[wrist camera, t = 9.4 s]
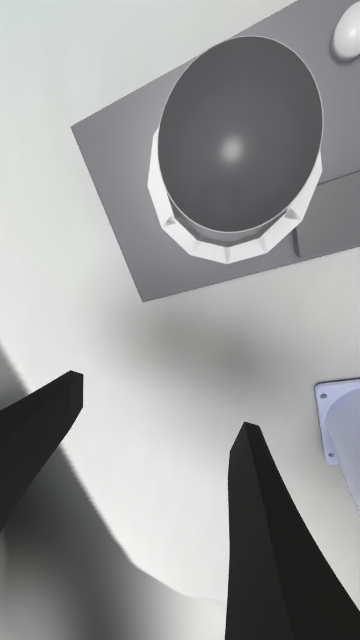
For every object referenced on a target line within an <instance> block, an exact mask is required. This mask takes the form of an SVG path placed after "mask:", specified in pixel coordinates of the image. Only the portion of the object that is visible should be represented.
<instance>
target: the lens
mask: <svg viewBox="0 0 360 640" xmlns="http://www.w3.org/2000/svg"><path fill="white" fill-rule="evenodd" d="M322 136H323V107H322V101H321V96H320V93H319V89H318V86H317V83H316V81H315V79H314V77H313V75H312V73H311V71H310V70H309V68H308V67H307V65H306V64H305V62H304V61H303V60H302V59H301V58H300V57H299V56H298V55H297V54H296V53H295V52H294V51H293V50H292V49H290V48H289V47H287V46H286V45H285V44H282V43H280V42H278V41H276V40H274V39H270V38H266V37H262V36H241V37H235V38H232V39H228V40H225V41H223V42H220V43H218V44H216V45H214V46H212V47H211V48H209V49H208V50H206V51H205V52H203V53H202V54H201V55H199V56H198V57H197V58H196V59H195V60H194V61H193V62H192V63H191V64H190V65H189V66H188V67H187V68H186V69H185V71H184V72H183V73H182V74H181V76H180V77H179V79H178V80H177V82H176V83H175V85H174V86H173V88H172V90H171V92H170V94H169V96H168V98H167V101H166V103H165V106H164V108H163V112H162V115H161V119H160V123H159V130H158V138H157V157H158V165H159V171H160V174H161V178H162V181H163V184H164V186H165V189H166V191H167V193H168V195H169V197H170V199H171V200H172V202H173V203H174V204H175V206H176V207H177V208H178V210H179V211H180V212H181V213H182V214H183V215H184V216H185V217H187V218H188V219H189V220H190V221H192V222H193V223H195V224H197V225H198V226H200V227H203V228H205V229H208V230H211V231H214V232H221V233H238V232H245V231H248V230H252V229H255V228H257V227H260V226H262V225H264V224H266V223H268V222H269V221H271V220H273V219H274V218H276V217H277V216H278V215H280V214H281V213H282V212H283V211H284V210H285V209H287V208H288V207H289V206H290V205H291V203H292V202H293V201H294V200H295V199H296V198H297V197H298V195H299V194H300V192H301V191H302V190H303V188H304V187H305V185H306V183H307V181H308V180H309V178H310V176H311V174H312V171H313V169H314V167H315V165H316V162H317V158H318V155H319V152H320V147H321V142H322Z"/></svg>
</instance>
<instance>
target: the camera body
mask: <svg viewBox="0 0 360 640" xmlns="http://www.w3.org/2000/svg"><path fill="white" fill-rule="evenodd" d="M241 36H262V37H266V38H270V39H274V40H276V41H278V42H280V43H282V44H285V45H286V46H287V47H289V48H290V49H292V50H293V51H294V52H295V53H296V54H297V55H298V56H299V57H300V58H301V59H302V60H303V61H304V62H305V64H306V65H307V67H308V68H309V70H310V71H311V73H312V75H313V77H314V79H315V81H316V83H317V86H318V89H319V93H320V96H321V101H322V107H323V136H322V142H321V147H320V152H319V155H318V158H317V162H316V165H315V167H314V169H313V171H312V174H311V176H310V178H309V180H308V181H307V183H306V185H305V187H304V188H303V190H302V191H301V192H300V194H299V195H298V197H297V198H296V199H295V200H294V201H293V202H292V203H291V205H290V206H289V207H288V208H287V209H285V210H284V211H283V212H282V213H281V214H280V215H278V216H277V217H276V218H274V219H273V220H271V221H269V222H268V223H266V224H264V225H262V226H260V227H257V228H255V229H252V230H248V231H245V232H238V233H221V232H214V231H211V230H208V229H205V228H203V227H200V226H198V225H197V224H195V223H193V222H192V221H190V220H189V219H188V218H187V217H185V216H184V215H183V214H182V213H181V212H180V211H179V210H178V208H177V207H176V206H175V204H174V203H173V202H172V200H171V199H170V197H169V195H168V193H167V191H166V189H165V186H164V184H163V181H162V178H161V174H160V171H159V165H158V157H157V138H158V130H159V123H160V119H161V115H162V112H163V108H164V106H165V103H166V101H167V98H168V96H169V94H170V92H171V90H172V88H173V86H174V85H175V83H176V82H177V80H178V79H179V77H180V76H181V74H182V73H183V72H184V71H185V69H186V68H187V67H188V66H189V65H190V64H191V63H192V62H193V61H194V60H195V59H196V58H197V57H198V56H197V57H195V58H193V59H191V60H190V61H188V62H186V63H184V64H182V65H181V66H179V67H177V68H175V69H173V70H172V71H170V72H168V73H166V74H164V75H163V76H161V77H159V78H157V79H155V80H154V81H152V82H150V83H148V84H146V85H145V86H143V87H141V88H139V89H137V90H136V91H134V92H132V93H130V94H128V95H127V96H125V97H123V98H121V99H119V100H118V101H116V102H114V103H112V104H110V105H109V106H107V107H105V108H103V109H101V110H100V111H98V112H96V113H94V114H92V115H91V116H89V117H87V118H85V119H83V120H82V121H80V122H78V123H76V124H74V125H73V126H71V129H72V132H73V134H74V137H75V139H76V142H77V144H78V146H79V149H80V151H81V154H82V156H83V159H84V161H85V163H86V166H87V168H88V171H89V173H90V176H91V178H92V180H93V183H94V185H95V188H96V190H97V193H98V195H99V198H100V200H101V202H102V205H103V207H104V210H105V212H106V215H107V217H108V219H109V222H110V224H111V227H112V229H113V232H114V234H115V236H116V239H117V241H118V244H119V246H120V249H121V251H122V254H123V256H124V258H125V261H126V263H127V266H128V268H129V271H130V273H131V275H132V278H133V280H134V283H135V285H136V288H137V290H138V292H139V295H140V297H141V300H142V302H147V301H150V300H154V299H158V298H162V297H166V296H170V295H174V294H178V293H181V292H185V291H189V290H193V289H197V288H201V287H205V286H209V285H212V284H216V283H220V282H224V281H228V280H232V279H236V278H240V277H243V276H247V275H251V274H255V273H259V272H263V271H267V270H271V269H274V268H278V267H282V266H286V265H290V264H294V263H298V262H302V261H306V260H309V259H313V258H317V257H321V256H325V255H329V254H333V253H337V252H340V251H344V250H348V249H352V248H356V247H360V0H298V1H296V2H294V3H292V4H290V5H289V6H287V7H285V8H283V9H281V10H280V11H278V12H276V13H274V14H272V15H271V16H269V17H267V18H265V19H263V20H262V21H260V22H258V23H256V24H254V25H253V26H251V27H249V28H247V29H245V30H244V31H242V32H240V33H238V34H236V35H235V36H233V37H231V38H229V39H232V38H235V37H241ZM227 40H228V39H227ZM200 55H201V54H200Z"/></svg>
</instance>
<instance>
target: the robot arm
mask: <svg viewBox="0 0 360 640" xmlns="http://www.w3.org/2000/svg"><path fill="white" fill-rule="evenodd" d="M315 393H316V400H317V407H318V414H319V421H320V428H321V435H322V442H323V449H324V456H325V461H326V463H327V464H328V465H340V468H341V470H342V473H343V475H344V478H345V480H346V483H347V485H348V488H349V490H350V493H351V495H352V498H353V500H354V503H355V505H356V508H357V510H358V513H359V515H360V379H356V380H348V381H339V382H331V383H322V384H318V385H317V386H316V387H315ZM321 394H325V395H321ZM82 408H83V374H81V373H77V372H74V371H71V370H70V371H69V372H67V373H65V374H63V375H62V376H60V377H58V378H57V379H55V380H53V381H52V382H50V383H48V384H47V385H45V386H43V387H42V388H40V389H38V390H37V391H35V392H33V393H31V394H30V395H28V396H26V397H24V398H23V399H21V400H19V401H17V402H16V403H14V404H12V405H10V406H8V407H6V408H4V409H2V410H0V532H1V531H2V529H3V527H4V525H5V524H6V522H7V520H8V519H9V517H10V515H11V514H12V512H13V510H14V509H15V507H16V506H17V504H18V502H19V501H20V499H21V498H22V496H23V494H24V492H25V491H26V489H27V488H28V486H29V485H30V484H31V482H32V481H33V479H34V478H35V476H36V475H37V473H38V472H39V471H40V470H41V468H42V467H43V466H44V464H45V463H46V461H47V460H48V459H49V457H50V456H51V455H52V453H53V452H54V451H55V449H56V448H57V446H58V445H59V444H60V442H61V441H62V440H63V438H64V437H65V435H66V434H67V433H68V431H69V430H70V428H71V427H72V425H73V423H74V422H75V420H76V418H77V416H78V415H79V413H80V411H81V409H82ZM228 502H229V537H230V560H229V580H228V598H227V614H226V630H225V640H360V611H359V610H358V608H357V607H356V605H355V604H354V602H353V601H352V599H351V598H350V596H349V595H348V593H347V592H346V590H345V589H344V587H343V586H342V584H341V583H340V581H339V580H338V578H337V577H336V575H335V573H334V572H333V570H332V569H331V567H330V565H329V564H328V562H327V561H326V559H325V557H324V556H323V554H322V552H321V551H320V549H319V547H318V546H317V544H316V542H315V541H314V539H313V537H312V535H311V534H310V532H309V530H308V528H307V527H306V525H305V523H304V521H303V519H302V517H301V516H300V514H299V512H298V510H297V508H296V506H295V504H294V502H293V500H292V498H291V496H290V494H289V492H288V490H287V488H286V486H285V484H284V482H283V480H282V478H281V476H280V473H279V471H278V469H277V467H276V465H275V462H274V460H273V458H272V456H271V453H270V451H269V449H268V446H267V444H266V441H265V439H264V436H263V434H262V431H261V429H260V427H259V426H258V425H255V424H251V423H248V422H244V423H243V425H242V427H241V429H240V432H239V434H238V436H237V438H236V440H235V442H234V444H233V446H232V448H231V450H230V457H229V470H228Z"/></svg>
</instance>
